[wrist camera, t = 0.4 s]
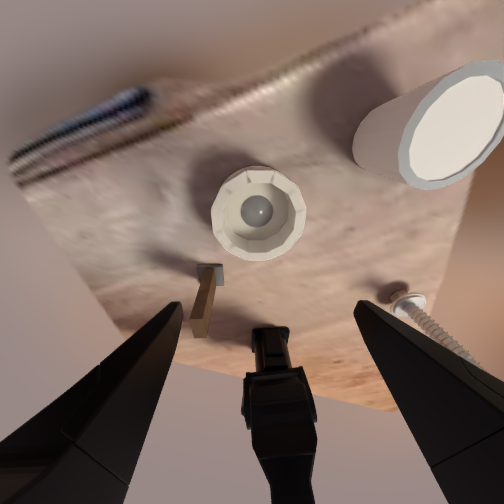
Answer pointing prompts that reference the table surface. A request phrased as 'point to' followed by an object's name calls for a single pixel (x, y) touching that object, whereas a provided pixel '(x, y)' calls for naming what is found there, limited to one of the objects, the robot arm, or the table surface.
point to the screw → (426, 321)
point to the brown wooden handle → (205, 298)
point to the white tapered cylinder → (435, 128)
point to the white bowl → (258, 214)
